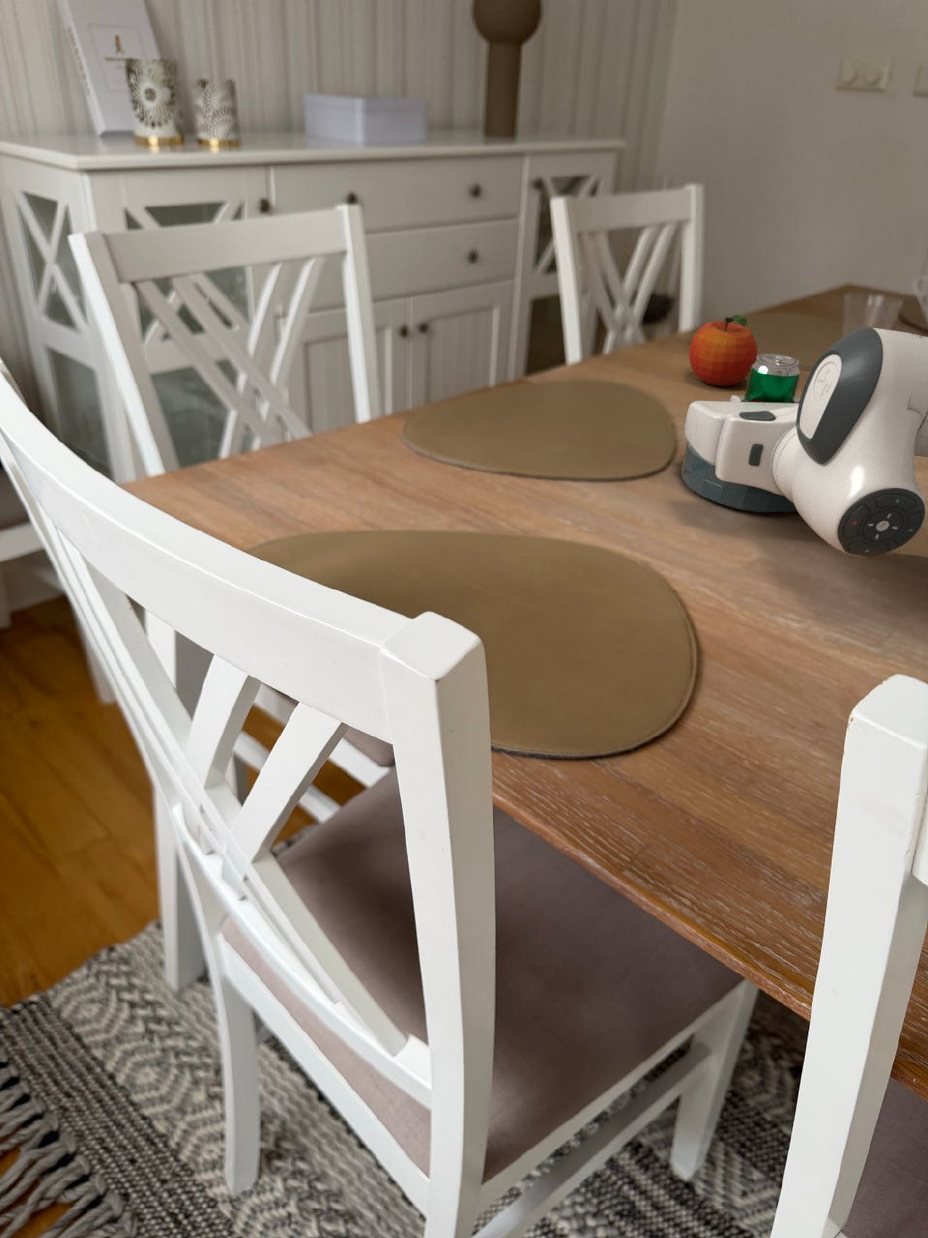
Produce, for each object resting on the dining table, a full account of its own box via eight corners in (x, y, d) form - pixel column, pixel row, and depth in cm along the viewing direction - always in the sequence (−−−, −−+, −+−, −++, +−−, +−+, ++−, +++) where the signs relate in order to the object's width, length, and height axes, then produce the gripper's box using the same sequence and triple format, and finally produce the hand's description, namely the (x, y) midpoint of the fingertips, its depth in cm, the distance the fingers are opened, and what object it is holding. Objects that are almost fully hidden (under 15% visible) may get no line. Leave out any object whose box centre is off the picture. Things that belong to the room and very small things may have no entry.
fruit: (723, 368, 144) (736, 301, 139) (764, 388, 137) (779, 318, 131) (671, 374, 140) (682, 305, 135) (709, 395, 133) (723, 323, 128)
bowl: (813, 469, 112) (823, 433, 109) (828, 525, 99) (839, 486, 96) (681, 454, 114) (688, 418, 112) (679, 507, 101) (686, 467, 99)
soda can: (764, 457, 108) (789, 352, 101) (785, 475, 103) (811, 366, 97) (723, 458, 107) (745, 352, 100) (741, 476, 102) (766, 366, 96)
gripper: (926, 422, 89) (865, 376, 101) (714, 417, 88) (677, 371, 100) (906, 484, 93) (849, 433, 104) (702, 480, 91) (668, 428, 103)
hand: (764, 402), depth 102 cm, fingers closed on soda can, 5 cm apart
